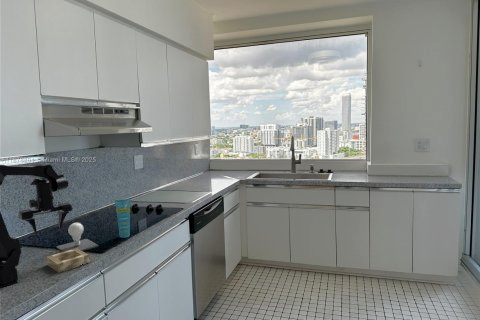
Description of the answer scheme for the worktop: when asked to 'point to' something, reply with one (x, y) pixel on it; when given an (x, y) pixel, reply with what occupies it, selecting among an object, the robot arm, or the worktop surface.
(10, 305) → the worktop surface
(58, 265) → the holder block
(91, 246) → the mat
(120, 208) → the tube
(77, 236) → the lightbulb
